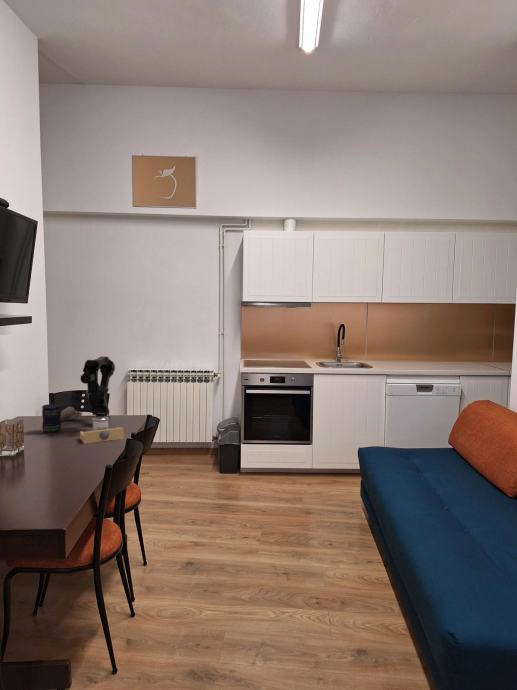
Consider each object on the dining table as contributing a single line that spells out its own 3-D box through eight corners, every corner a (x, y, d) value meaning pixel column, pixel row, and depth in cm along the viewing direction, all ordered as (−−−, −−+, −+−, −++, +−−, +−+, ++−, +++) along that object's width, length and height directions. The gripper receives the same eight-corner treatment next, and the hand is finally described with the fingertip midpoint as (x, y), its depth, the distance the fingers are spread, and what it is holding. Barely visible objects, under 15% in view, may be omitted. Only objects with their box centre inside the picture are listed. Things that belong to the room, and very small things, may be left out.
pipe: (65, 434, 297) (85, 419, 305) (61, 427, 290) (82, 411, 298) (49, 418, 304) (70, 403, 311) (45, 410, 297) (66, 396, 304)
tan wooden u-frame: (80, 438, 259) (79, 428, 259) (118, 434, 270) (118, 423, 270) (84, 444, 250) (84, 432, 250) (123, 439, 261) (123, 428, 260)
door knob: (84, 436, 265) (84, 416, 264) (110, 433, 272) (110, 414, 272) (89, 442, 253) (89, 422, 252) (116, 439, 260) (116, 419, 259)
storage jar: (56, 434, 267) (56, 407, 266) (39, 434, 268) (38, 407, 266) (64, 429, 277) (64, 404, 276) (47, 429, 278) (46, 403, 276)
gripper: (109, 382, 270) (110, 410, 270) (105, 379, 287) (106, 405, 287) (88, 383, 265) (89, 411, 266) (85, 380, 282) (86, 407, 283)
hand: (93, 409), depth 275 cm, fingers closed
